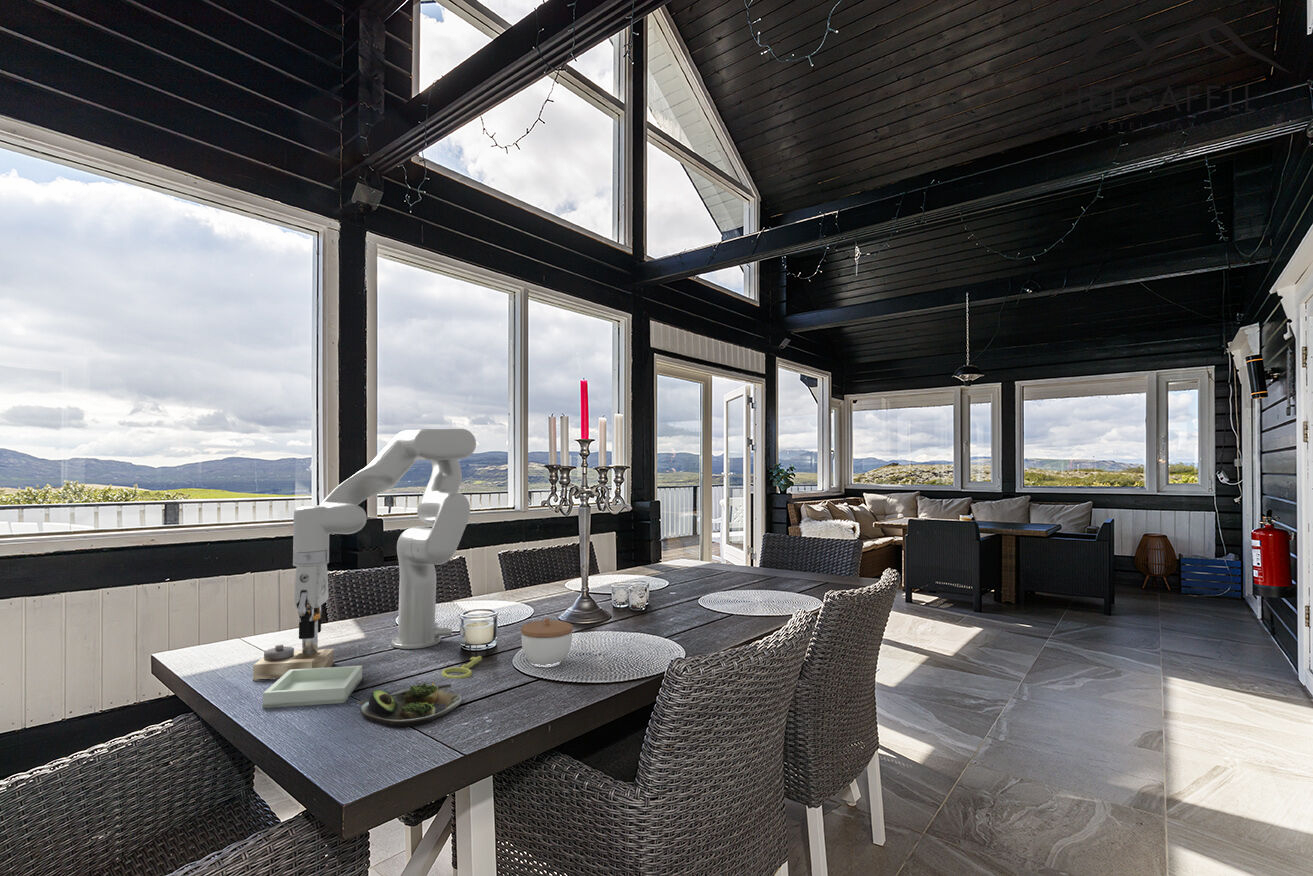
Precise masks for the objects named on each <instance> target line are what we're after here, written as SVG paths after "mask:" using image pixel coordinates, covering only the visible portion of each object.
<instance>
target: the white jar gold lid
mask: <svg viewBox="0 0 1313 876" xmlns="http://www.w3.org/2000/svg"><path fill="white" fill-rule="evenodd" d="M309 614H310V613H309ZM318 619H320V613H314V615H313V621H314V620H315V636H314V638H311V639H301V642H302V643H301V651H302V655H313V654H316V653H317V652H318V650H319V649H318V642H319V641H318V640H319V639H318V637H319V635H318V634H319V633H318Z"/></svg>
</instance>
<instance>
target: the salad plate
mask: <svg viewBox="0 0 1313 876" xmlns="http://www.w3.org/2000/svg"><path fill="white" fill-rule="evenodd" d="M451 687H452V684H451V683H448V684H441V685H436V683H435V682H432V683H431V685H428V684H427V683H425V682H424V683H423V684H417V685H411V686H410V687H408V688H403V689H401V690H399V691H396V692H394V693H391V694H390V693H389V692H387V691H384V690H381V689H375V690H373V691H372V693H371V694H370V697H369V698H366V699H362V700H360V701H358V702H357V703H356V704H358V705H361V709H360V713H361V715H362V717H364V719H365V720H367V721H368V722H371V723H374V724H377V725H379V726H384V727H389V728H410V727H416V726H417V727H418V726H421V725H424V724H426V723H427V724H428V723H429V722H430V723H431V722H432V721H434V720H436V719H438V718H441V717H442V716H444V715H446V714H447V713H449V712H451V711H452V710H454V709H456V707H458V706H460V704H461V703H462V701H463V700H462V698H463V697H462V696H461V695H460V694H458V693H452V692H448V691H447V689H450V688H451ZM437 704H438V705H439V704H441V705H445V707H444V709H443V710H442V711H438V712H436V707H435V705H437Z"/></svg>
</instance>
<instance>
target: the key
mask: <svg viewBox="0 0 1313 876" xmlns="http://www.w3.org/2000/svg"><path fill="white" fill-rule="evenodd" d="M482 659H483V657H482V656H481V655H478V656H471V657H470V658H469V660H470V661H469V662H468V663H464V664H462V665H461V667H460V666H455V667H453V666H452V667H447V668H445V669H442V671H441V676H442V677H444V678H447V679H455V680H456V679H466V678H470V677H471V676H472V675H473V672H472V669H471V668H472V667H474V666H475V665H476V664H478V663H480V662H481V661H482ZM448 673H449V674H448ZM450 673H463V674H460V675H459V674H458V675H452V674H450Z"/></svg>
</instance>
